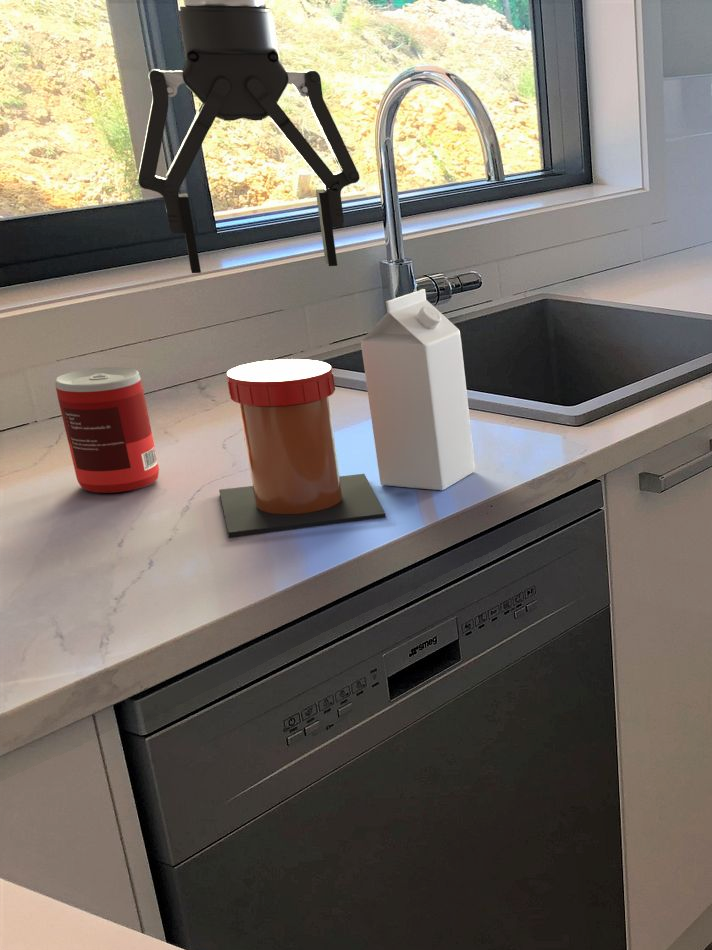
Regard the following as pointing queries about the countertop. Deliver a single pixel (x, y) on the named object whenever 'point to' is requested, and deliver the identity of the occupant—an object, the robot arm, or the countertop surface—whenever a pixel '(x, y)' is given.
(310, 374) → the jar lid
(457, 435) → the milk carton
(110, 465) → the canned food
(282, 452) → the jar
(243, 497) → the mat
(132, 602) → the countertop surface
